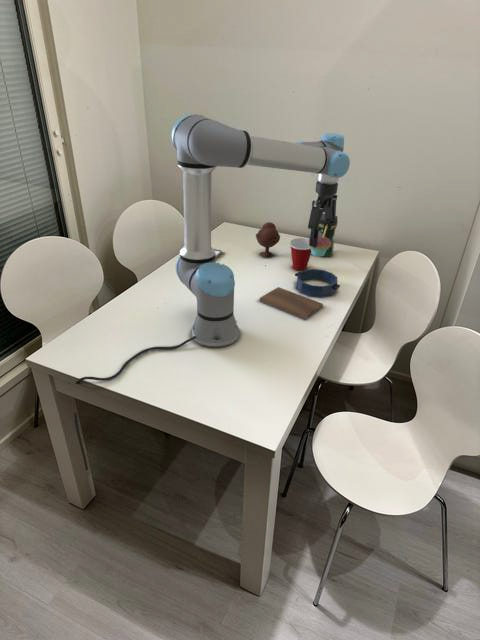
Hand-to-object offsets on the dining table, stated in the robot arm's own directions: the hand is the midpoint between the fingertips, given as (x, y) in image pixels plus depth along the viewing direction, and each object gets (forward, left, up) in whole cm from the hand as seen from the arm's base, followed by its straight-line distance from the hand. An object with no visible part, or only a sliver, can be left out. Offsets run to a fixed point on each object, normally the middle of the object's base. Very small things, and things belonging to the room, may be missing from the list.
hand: (319, 242), depth 170 cm
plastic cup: (+13, +15, -20) cm, 28 cm away
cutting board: (-16, 0, -19) cm, 25 cm away
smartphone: (-5, +52, -19) cm, 56 cm away
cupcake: (0, 0, -5) cm, 5 cm away
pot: (+2, 0, -19) cm, 19 cm away
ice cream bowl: (+15, +34, -20) cm, 42 cm away
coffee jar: (+34, +16, -20) cm, 42 cm away
